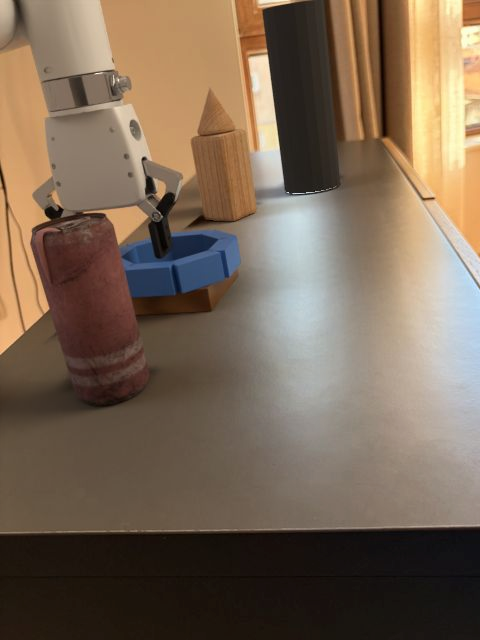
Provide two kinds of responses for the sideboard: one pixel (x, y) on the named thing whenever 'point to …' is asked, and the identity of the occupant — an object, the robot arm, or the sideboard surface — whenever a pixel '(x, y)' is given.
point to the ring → (180, 263)
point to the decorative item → (222, 165)
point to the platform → (185, 299)
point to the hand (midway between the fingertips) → (123, 258)
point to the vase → (302, 95)
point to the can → (91, 307)
